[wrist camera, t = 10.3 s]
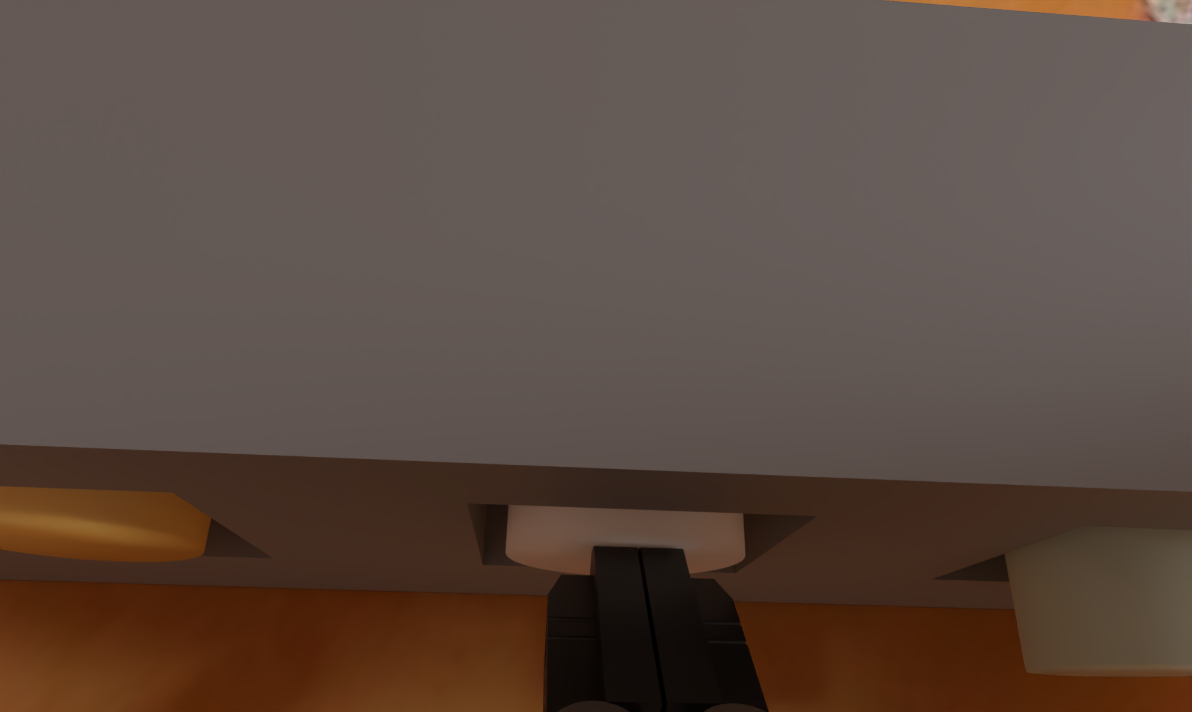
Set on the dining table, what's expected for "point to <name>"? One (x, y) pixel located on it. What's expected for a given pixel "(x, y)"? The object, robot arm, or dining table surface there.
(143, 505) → the amber button
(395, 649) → the dining table surface
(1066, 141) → the console
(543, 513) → the cream button
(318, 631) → the dining table surface
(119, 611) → the dining table surface
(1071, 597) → the sage button
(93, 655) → the dining table surface
